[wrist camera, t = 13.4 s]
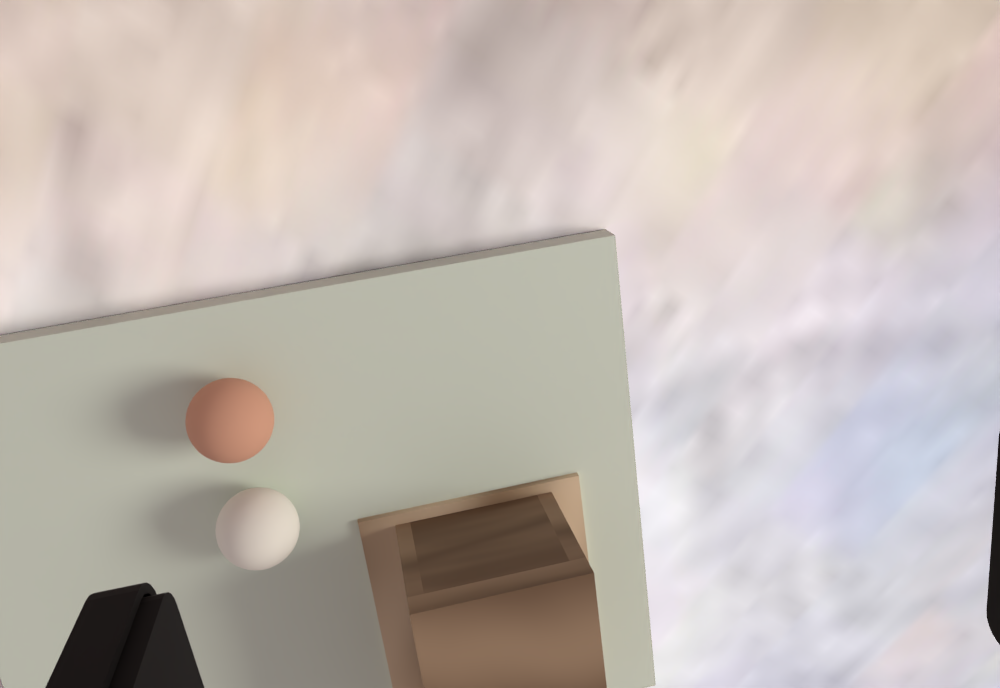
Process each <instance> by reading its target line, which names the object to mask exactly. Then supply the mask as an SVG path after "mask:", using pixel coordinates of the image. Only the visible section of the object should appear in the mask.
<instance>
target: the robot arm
mask: <svg viewBox="0 0 1000 688" xmlns="http://www.w3.org/2000/svg"><path fill="white" fill-rule="evenodd" d="M987 619H988V623H989V627H990V629H991V631H992V634H993V635H994V637H995V639H996V640H997V642H998V643H999V644H1000V433H999V444H998V458H997V472H996V486H995V500H994V514H993V528H992V543H991V557H990V571H989V585H988V599H987ZM45 688H204V685H203V682H202V679H201V676H200V673H199V670H198V667H197V664H196V661H195V658H194V654H193V651H192V648H191V645H190V642H189V639H188V636H187V633H186V630H185V627H184V624H183V621H182V618H181V615H180V612H179V609H178V606H177V603H176V601H175V598H174V597H173V595H172V594H171V593H169V592H166V593H161V594H156V591H155V590H154V588H153V587H152V586H151V584H149V583H147V582H146V583H141V584H136V585H131V586H126V587H121V588H116V589H111V590H106V591H101V592H96V593H93V594H91V595H89V597H88V598H87V599H86V601H85V603H84V605H83V607H82V609H81V612H80V614H79V616H78V618H77V620H76V622H75V625H74V627H73V629H72V631H71V633H70V635H69V638H68V640H67V642H66V644H65V646H64V648H63V651H62V653H61V655H60V657H59V659H58V661H57V663H56V666H55V668H54V670H53V672H52V674H51V676H50V679H49V681H48V683H47V685H46V687H45Z"/></svg>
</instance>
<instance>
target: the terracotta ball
mask: <svg viewBox="0 0 1000 688" xmlns="http://www.w3.org/2000/svg"><path fill="white" fill-rule="evenodd" d="M185 424H186V431H187V435H188V437H189V439H190V441H191V443H192V445H193V446H194V447H195V449H196V450H197V451H198V452H199V453H201V454H202V455H203V456H205V457H206V458H208V459H211V460H213V461H216V462H220V463H238V462H242V461H245V460H247V459H249V458H251V457H253V456H255V455H256V454H257V453H259V452H260V451H261V450H262V449H263V448H264V447H265V445H266V444H267V442H268V441H269V439H270V437H271V435H272V432H273V428H274V411H273V408H272V405H271V403H270V400H269V399H268V397H267V395H266V394H265V393H264V392H263V391H262V390H261V389H260V388H259V387H257V386H256V385H254V384H253V383H251V382H249V381H246V380H243V379H239V378H224V379H219V380H216V381H213V382H211V383H209V384H207V385H206V386H204V387H203V388H201V389H200V390H199V391H198V392H197V393H196V394H195V396H194V397H193V398H192V400H191V402H190V404H189V406H188V409H187V412H186V419H185Z"/></svg>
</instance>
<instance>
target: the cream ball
mask: <svg viewBox="0 0 1000 688" xmlns="http://www.w3.org/2000/svg"><path fill="white" fill-rule="evenodd" d="M299 531H300V522H299V517H298V513H297V511H296V509H295V507H294V505H293V504H292V502H291V501H290V500H289V499H288V498H287V497H286V496H285V495H283V494H282V493H280V492H278V491H276V490H273V489H270V488H263V487H256V488H250V489H246V490H244V491H241V492H239V493H237V494H236V495H234V496H233V497H232V498H231V499H229V500H228V501H227V503H226V504H225V505H224V506H223V508H222V509H221V511H220V513H219V516H218V518H217V522H216V530H215V532H216V540H217V544H218V546H219V548H220V550H221V552H222V554H223V555H224V556H225V557H226V558H227V559H228V560H229V561H230V562H231V563H233V564H234V565H236V566H238V567H240V568H243V569H247V570H264V569H268V568H271V567H273V566H275V565H277V564H279V563H280V562H282V561H283V560H284V559H285V558H287V557H288V555H289V554H290V553H291V552H292V550H293V549H294V547H295V545H296V543H297V540H298V537H299Z"/></svg>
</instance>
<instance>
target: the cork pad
mask: <svg viewBox="0 0 1000 688" xmlns="http://www.w3.org/2000/svg"><path fill="white" fill-rule="evenodd" d="M549 492H552V494H553V496H554V498H555V499H556V501H557V503H558V505H559V507H560V509H561V511H562V513H563V515H564V517H565V518H566V520H567V522H568V524H569V526H570V528H571V530H572V532H573V534H574V536H575V537H576V539H577V541H578V543H579V545H580V547H581V549H582V551H583V553H584V555H585V557H586V558H587V560H588V551H587V542H586V533H585V525H584V516H583V507H582V498H581V490H580V481H579V475H578V473H577V472H576V473H572V474H567V475H562V476H557V477H553V478H548V479H543V480H539V481H534V482H529V483H525V484H520V485H515V486H510V487H506V488H501V489H496V490H492V491H487V492H482V493H478V494H473V495H468V496H463V497H459V498H454V499H449V500H445V501H440V502H435V503H431V504H426V505H421V506H416V507H412V508H407V509H402V510H398V511H393V512H388V513H384V514H379V515H374V516H369V517H365V518H360V519H357V520H358V526H359V531H360V536H361V540H362V545H363V550H364V555H365V559H366V564H367V569H368V573H369V578H370V583H371V588H372V592H373V597H374V602H375V606H376V611H377V616H378V621H379V625H380V630H381V635H382V639H383V644H384V649H385V654H386V658H387V663H388V668H389V672H390V677H391V682H392V687H393V688H424V686H423V681H422V676H421V671H420V666H419V661H418V656H417V651H416V645H415V640H414V635H413V630H412V625H411V620H410V615H409V609H408V602H407V596H406V590H405V584H404V577H403V571H402V565H401V559H400V553H399V546H398V540H397V534H396V528H395V525H399V524H404V523H409V522H413V521H418V520H423V519H427V518H432V517H437V516H441V515H446V514H451V513H455V512H460V511H465V510H469V509H474V508H479V507H483V506H488V505H493V504H497V503H502V502H507V501H511V500H516V499H521V498H525V497H530V496H535V495H539V494H544V493H549ZM588 562H589V560H588Z"/></svg>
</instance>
